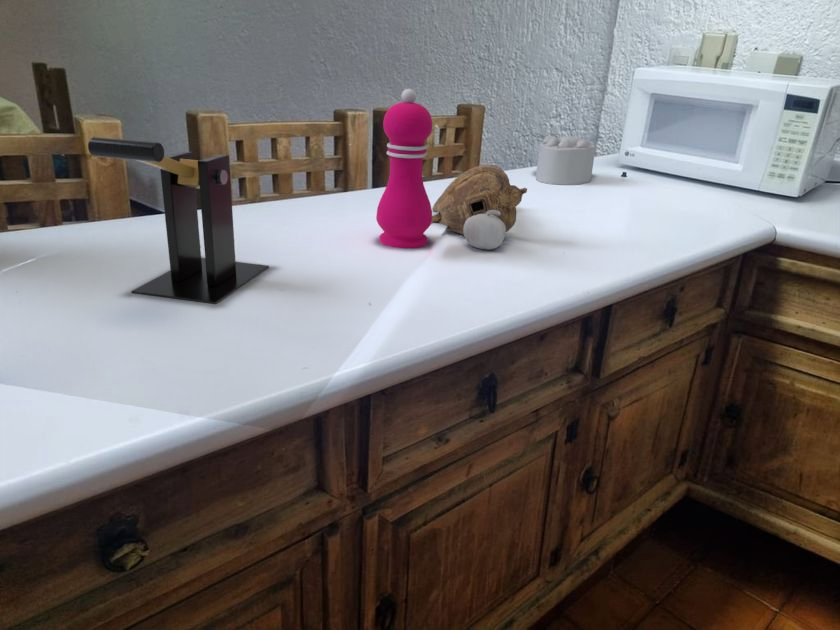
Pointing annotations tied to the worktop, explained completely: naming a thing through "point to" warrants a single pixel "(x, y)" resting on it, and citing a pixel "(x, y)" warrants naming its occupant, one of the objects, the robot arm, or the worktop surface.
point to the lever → (146, 157)
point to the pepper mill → (405, 176)
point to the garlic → (484, 230)
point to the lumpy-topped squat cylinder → (565, 161)
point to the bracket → (187, 268)
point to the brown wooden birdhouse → (478, 198)
